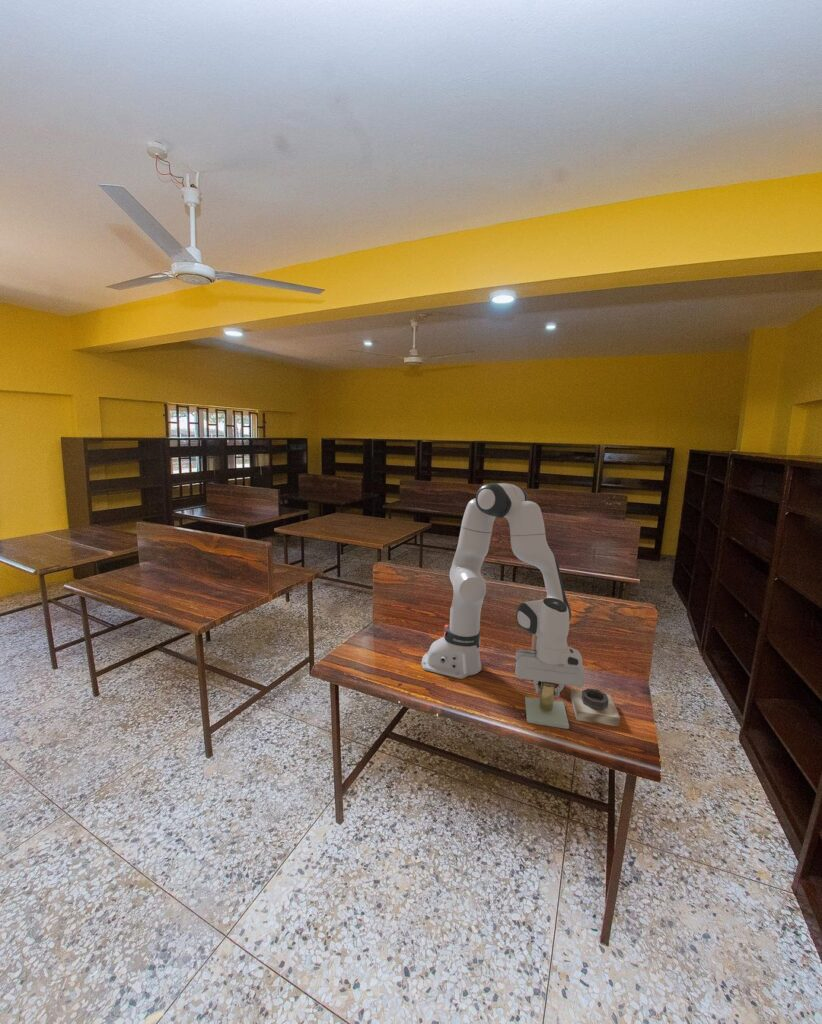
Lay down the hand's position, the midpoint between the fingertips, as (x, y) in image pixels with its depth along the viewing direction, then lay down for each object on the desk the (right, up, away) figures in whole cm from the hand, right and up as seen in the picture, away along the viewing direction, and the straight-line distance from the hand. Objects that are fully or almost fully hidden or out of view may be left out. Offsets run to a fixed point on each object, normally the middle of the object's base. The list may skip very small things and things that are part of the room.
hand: (547, 693), depth 129 cm
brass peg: (0, -5, +1) cm, 5 cm away
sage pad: (0, -7, +1) cm, 7 cm away
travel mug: (+4, -4, +20) cm, 21 cm away
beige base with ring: (+16, -7, +3) cm, 17 cm away
